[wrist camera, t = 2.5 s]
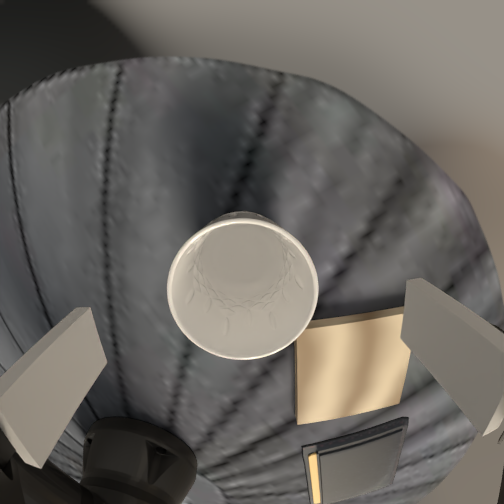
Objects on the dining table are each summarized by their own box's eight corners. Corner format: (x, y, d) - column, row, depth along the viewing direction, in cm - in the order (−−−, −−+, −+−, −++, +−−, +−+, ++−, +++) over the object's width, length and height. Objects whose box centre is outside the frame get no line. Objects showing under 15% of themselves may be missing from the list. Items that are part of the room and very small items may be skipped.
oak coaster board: (295, 415, 29) (297, 424, 28) (293, 322, 27) (296, 330, 25) (394, 395, 30) (398, 403, 28) (409, 305, 27) (416, 310, 25)
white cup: (180, 224, 24) (142, 252, 15) (270, 189, 24) (290, 195, 14) (216, 307, 26) (203, 375, 16) (301, 277, 26) (334, 331, 16)
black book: (393, 489, 34) (307, 512, 34) (390, 481, 36) (305, 504, 36) (417, 418, 30) (302, 451, 30) (411, 409, 31) (300, 440, 31)
